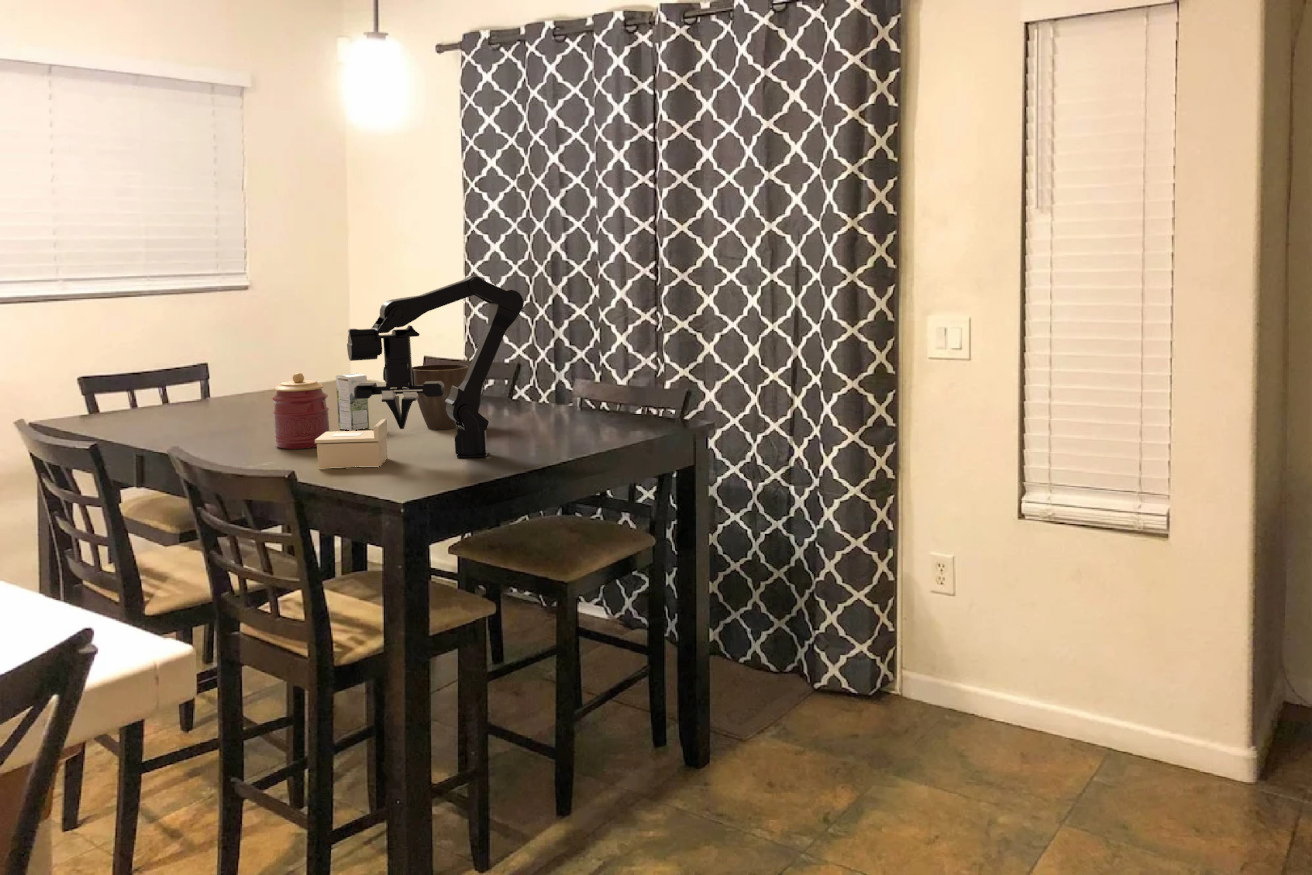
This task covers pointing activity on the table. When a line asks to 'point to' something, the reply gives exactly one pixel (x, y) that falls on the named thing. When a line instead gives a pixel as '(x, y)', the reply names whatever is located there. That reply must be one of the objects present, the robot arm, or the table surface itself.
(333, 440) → the cream angled plate
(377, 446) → the base
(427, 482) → the table surface
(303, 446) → the canister
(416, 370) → the plant pot
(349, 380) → the syrup box
